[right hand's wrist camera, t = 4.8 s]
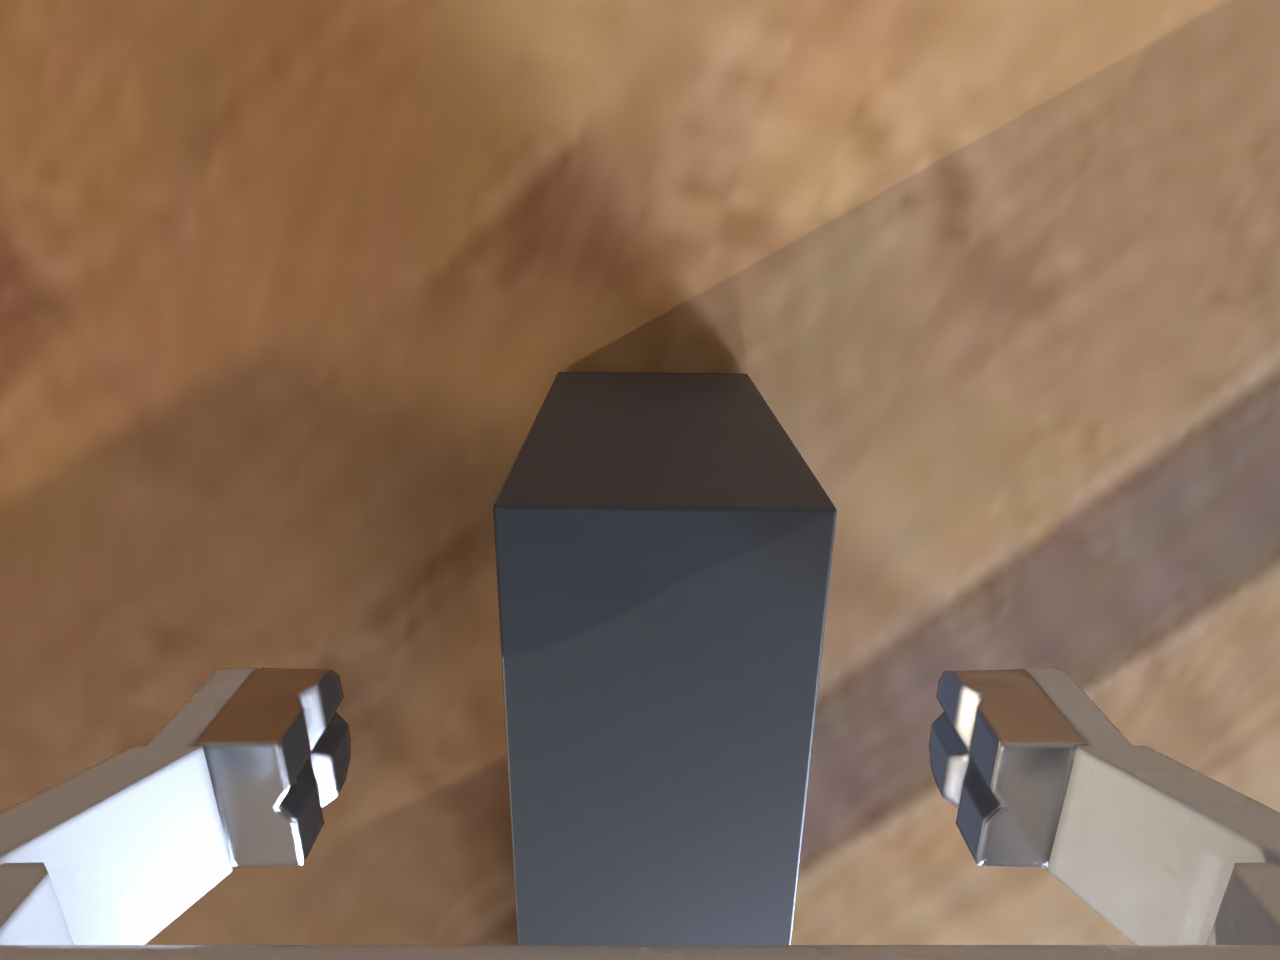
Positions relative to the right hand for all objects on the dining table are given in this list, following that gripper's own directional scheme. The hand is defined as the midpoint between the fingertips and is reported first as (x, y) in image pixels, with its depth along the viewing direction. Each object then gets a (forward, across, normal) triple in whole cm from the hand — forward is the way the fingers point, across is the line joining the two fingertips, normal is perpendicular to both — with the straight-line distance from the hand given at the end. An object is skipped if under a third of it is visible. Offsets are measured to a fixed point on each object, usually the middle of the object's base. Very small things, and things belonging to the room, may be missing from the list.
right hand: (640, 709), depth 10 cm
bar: (+9, 0, -11) cm, 14 cm away
